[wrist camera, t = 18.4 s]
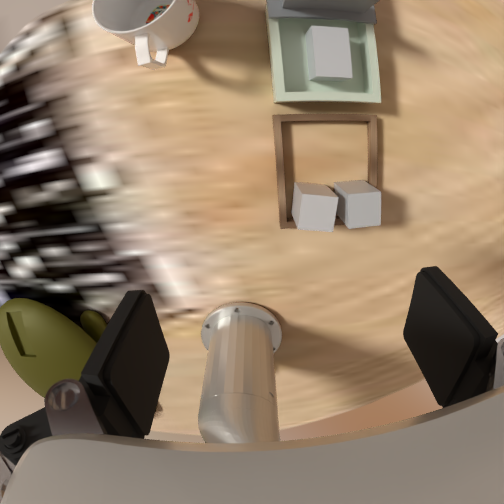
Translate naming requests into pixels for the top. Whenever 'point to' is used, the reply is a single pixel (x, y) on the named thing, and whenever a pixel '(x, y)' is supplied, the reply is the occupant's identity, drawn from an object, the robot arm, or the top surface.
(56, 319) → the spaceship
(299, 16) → the bin lid
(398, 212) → the top surface
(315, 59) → the stone
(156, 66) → the mug
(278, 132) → the tray
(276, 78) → the bin
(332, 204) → the stone
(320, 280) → the top surface
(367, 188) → the stone
